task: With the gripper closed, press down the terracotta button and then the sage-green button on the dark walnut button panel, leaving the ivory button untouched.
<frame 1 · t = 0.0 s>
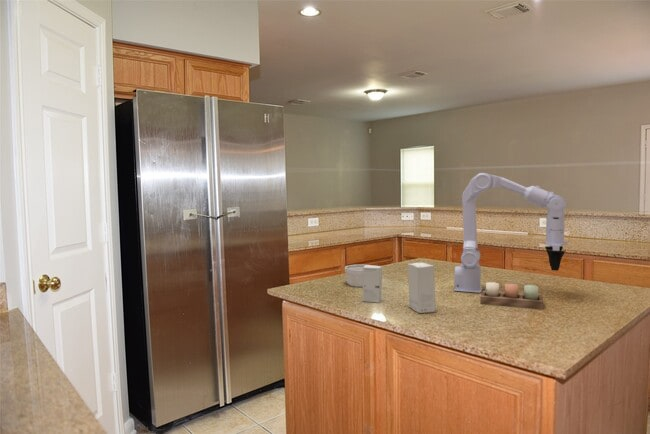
hand: (554, 268, 160), 10 cm above the counter, tool pointing down, fingers open, 7 cm apart
terracotta button: (511, 290, 153), point 4 cm above the counter, slide at 0.0 cm
sage button: (531, 292, 151), point 4 cm above the counter, slide at 0.0 cm
ramekin: (361, 284, 185), on the counter
button panel: (511, 303, 153), on the counter
skincare box 2: (372, 301, 159), on the counter
ivory button: (492, 289, 155), point 4 cm above the counter, slide at 0.0 cm
skincare box: (421, 310, 147), on the counter
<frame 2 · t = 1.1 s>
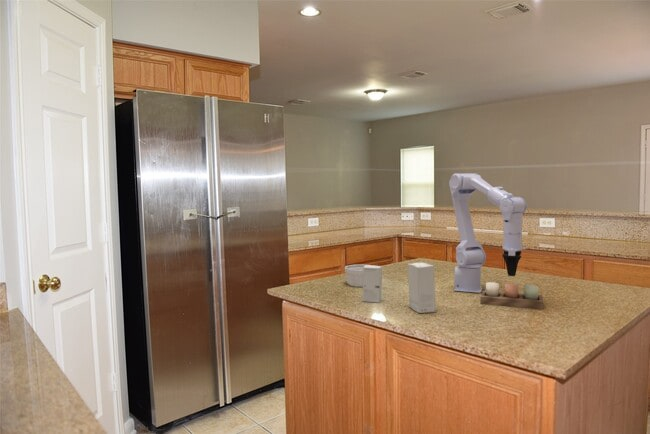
hand: (511, 273, 153), 10 cm above the counter, tool pointing down, fingers open, 6 cm apart
nothing on the counter moved.
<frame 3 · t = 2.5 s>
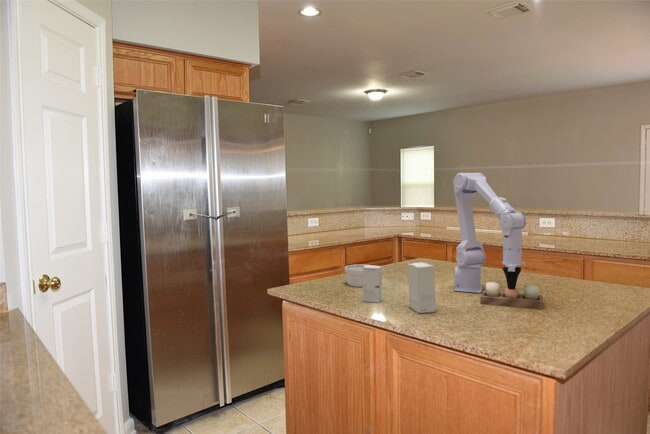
hand: (511, 288, 153), 5 cm above the counter, tool pointing down, fingers closed, pressing on terracotta button
terracotta button: (511, 294, 153), point 3 cm above the counter, slide at -1.4 cm, touching gripper
everything else where it was.
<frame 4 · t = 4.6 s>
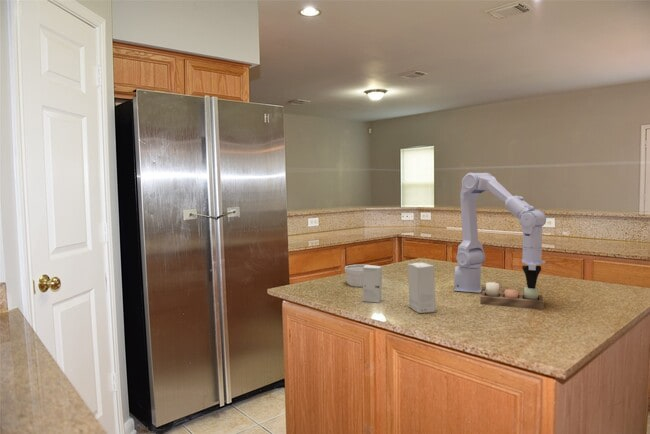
hand: (531, 288, 150), 6 cm above the counter, tool pointing down, fingers closed, pressing on sage button
terracotta button: (511, 296, 153), point 2 cm above the counter, slide at -1.9 cm
sage button: (531, 293, 151), point 4 cm above the counter, slide at -0.5 cm, touching gripper
everything else where it was.
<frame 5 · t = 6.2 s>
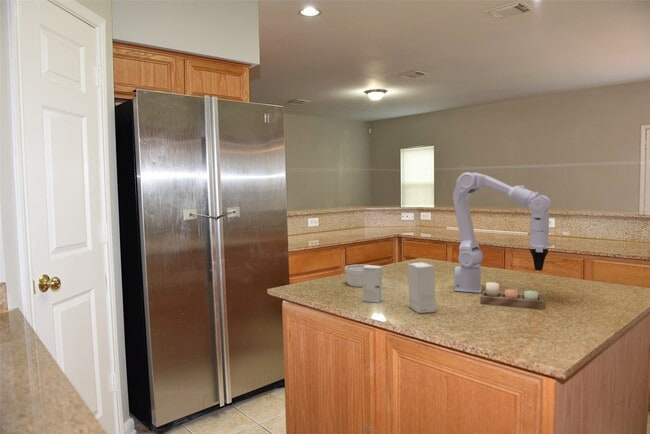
hand: (538, 270, 157), 10 cm above the counter, tool pointing down, fingers closed
sage button: (530, 297, 151), point 2 cm above the counter, slide at -1.9 cm
everything else where it was.
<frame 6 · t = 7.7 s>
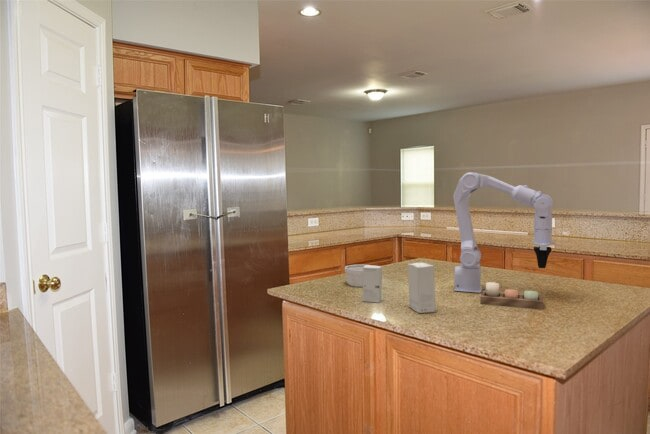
hand: (541, 267, 160), 10 cm above the counter, tool pointing down, fingers closed
nothing on the counter moved.
at the end: terracotta button slide at -1.9 cm; sage button slide at -1.9 cm; ivory button slide at 0.0 cm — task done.
